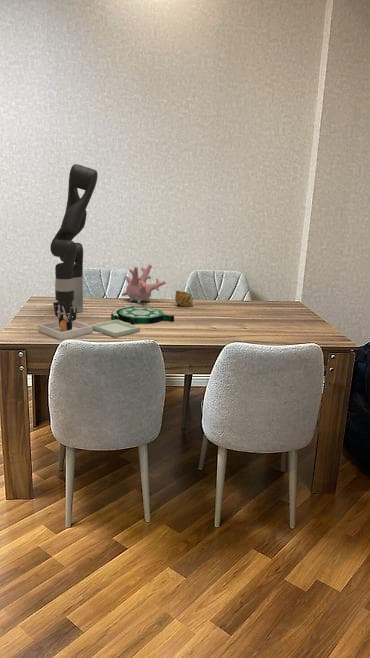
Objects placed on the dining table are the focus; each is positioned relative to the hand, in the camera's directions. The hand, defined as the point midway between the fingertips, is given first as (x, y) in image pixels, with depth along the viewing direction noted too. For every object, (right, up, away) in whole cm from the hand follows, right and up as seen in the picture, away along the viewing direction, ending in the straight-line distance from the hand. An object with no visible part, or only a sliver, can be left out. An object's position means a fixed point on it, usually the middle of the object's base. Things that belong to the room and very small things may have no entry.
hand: (65, 328), depth 206 cm
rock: (+50, +13, +59) cm, 78 cm away
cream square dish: (0, -2, 0) cm, 2 cm away
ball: (0, +1, 0) cm, 1 cm away
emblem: (+30, +4, +28) cm, 41 cm away
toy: (+26, +14, +61) cm, 68 cm away
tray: (+20, -1, +6) cm, 21 cm away
